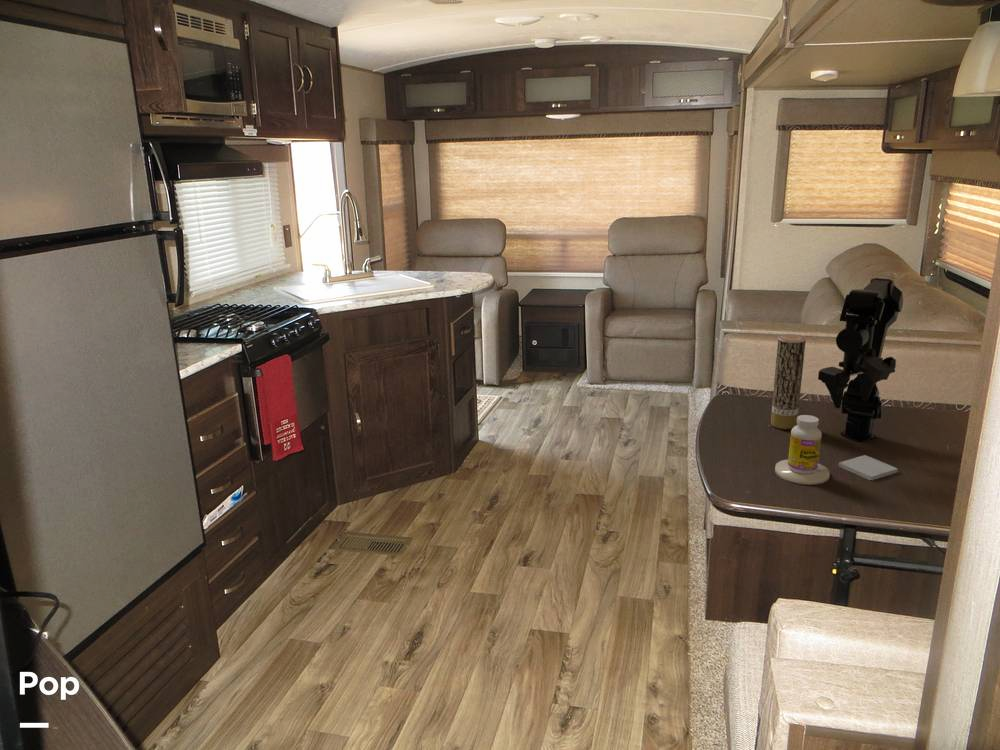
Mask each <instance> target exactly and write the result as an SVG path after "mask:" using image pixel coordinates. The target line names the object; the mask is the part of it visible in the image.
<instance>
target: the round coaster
mask: <svg viewBox="0 0 1000 750" xmlns="http://www.w3.org/2000/svg"><path fill="white" fill-rule="evenodd" d="M774 473H775V475H776V476H777V477H779V478H781V479H783V480H785V481H786V482H791V483H794V484H798V485H804V486H805V485H806V486H807V485H809V486H811V485H820V484H824V483H826V482H828V481H829V480H830V475H831V471H830V470H829V469H828V468H827V467H826V466H824V465H822V464H820V463H819V462H818V469H817V471H816V472H815V473H812V474H800V473H796V472H794V471H792V470H790V469H789V468H788V458H787V459H782V460H780V461H778V462H776V464H775V467H774Z"/></svg>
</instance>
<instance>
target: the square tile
mask: <svg viewBox="0 0 1000 750" xmlns="http://www.w3.org/2000/svg"><path fill="white" fill-rule="evenodd" d="M838 467H839V468H841V469H843V470H845V471H848V472H849V473H853V474H855V475H857V476H858V477H861V478H864V479H866V480H869V481H870V480H872V481H875V480H877V479H881V478H884V477H887V476H890V475H891V476H892V475H894V474H896V473H898V469H899V468H897V467H895V466H892V465H890V464H888V463H886V462H883V461H880V460H878V459H876V458H874V457H871V456H868V455H866V454H864V455H861V456H857V457H854V458H849V459H847V460H844V461H839V462H838ZM874 479H875V480H874Z"/></svg>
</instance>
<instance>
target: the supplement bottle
mask: <svg viewBox="0 0 1000 750" xmlns="http://www.w3.org/2000/svg"><path fill="white" fill-rule="evenodd" d="M819 422H820V419H819V418H818V417H816V416H815V415H810V414H802V415H798V417H797V426H795V427H793V428H792V429H790V440H789V451H788V458H787V459H788V468H789V469H790V470H792V471H794V472H796V473H800V474H812V473H815V472H816V471H817V469H818V463H819V461H820V454H821V451H820V450H821V444H822V434H823V432H822V431H821V429H819V427H818V426H819V424H820V423H819Z"/></svg>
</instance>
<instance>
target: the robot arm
mask: <svg viewBox="0 0 1000 750" xmlns="http://www.w3.org/2000/svg"><path fill="white" fill-rule="evenodd" d="M903 304H904V295H903V292H902V291H901V290H900V289H899V288H898V286H896V285H895V281H894V280H893V279H891V278H882V277H874V278H871V279H870V282H869V283H868V284H867V285H866V286H865V287H864V288H861V289H856V288H855V289H851V290H850V291H849V293H848V294H846V296H845V298H844V302H843V305H842V310H841V313H840V317H839V322H845V327H844V328H843V329H842V330H841V331H839V332H838V334H837V335H836V337H835V343H836V346H837V348H838V349H839V350H840V351H842V352H843V358H842V359H843V361H838V367H840V368H838V367H835V366H828V367H823V368H821V369H819V370H818V375H817V379H818V380H819V381H821V382H822V383H823V384H824V385H825V386H826V388H827V390H828V393H829V395H830V397H831V400H832V403H833V405H834V407H835V408H836V409H840V408H841V414H842V415H843V414H845V415H847V417H846V420H845V421H846V422H845V427H844V428H845V429H844V430H843V431H840V432H839V435H841V436H845V437H847V438H849V439H851V440H853V441H855V442H856V441H857V442H859V443H860V442H865V441H868V440H872V439H876V438H877V437H878V435H877V434H875V433H873V428H874V427H873V425H874V420H877V419H882V416H883V402H882V400H881V397H880V390H879V387H878V385H877V383H879V382H881V381H883V380H884V381H887V380H888V378H889V377H890V375H891V374H893V373H895V372H896V370H895V369H896V365H897V359H896V358H894V357H893V356H889V357H885V358H883V357H882V354H883V350H884V346H885V341H886V337H887V333H888V329H889V328H890V327H891V326H892V325H893V324H894V323H895V322H897V320H898V316H899V313H902V310H903ZM841 368H843V369H841ZM853 376H856V377H854V378H853V379H851V377H853ZM845 389H846V390H845Z"/></svg>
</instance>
